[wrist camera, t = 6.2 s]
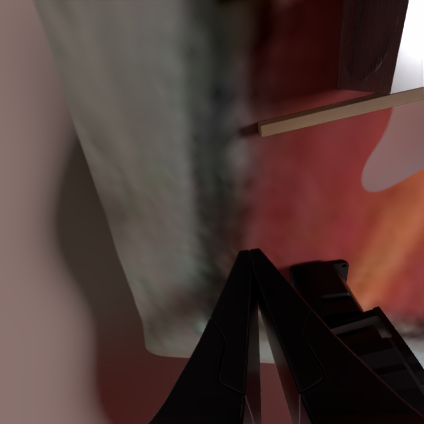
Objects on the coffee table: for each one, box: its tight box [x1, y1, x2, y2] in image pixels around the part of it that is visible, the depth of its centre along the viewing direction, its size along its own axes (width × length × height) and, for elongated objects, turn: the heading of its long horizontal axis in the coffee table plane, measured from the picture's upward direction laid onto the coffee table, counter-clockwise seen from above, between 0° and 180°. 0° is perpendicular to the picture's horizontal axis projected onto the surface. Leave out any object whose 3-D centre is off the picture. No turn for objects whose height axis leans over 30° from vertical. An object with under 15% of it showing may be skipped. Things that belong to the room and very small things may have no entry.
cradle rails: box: [258, 87, 424, 137], centre depth 13 cm, size 9×15×2 cm, turn 104°
